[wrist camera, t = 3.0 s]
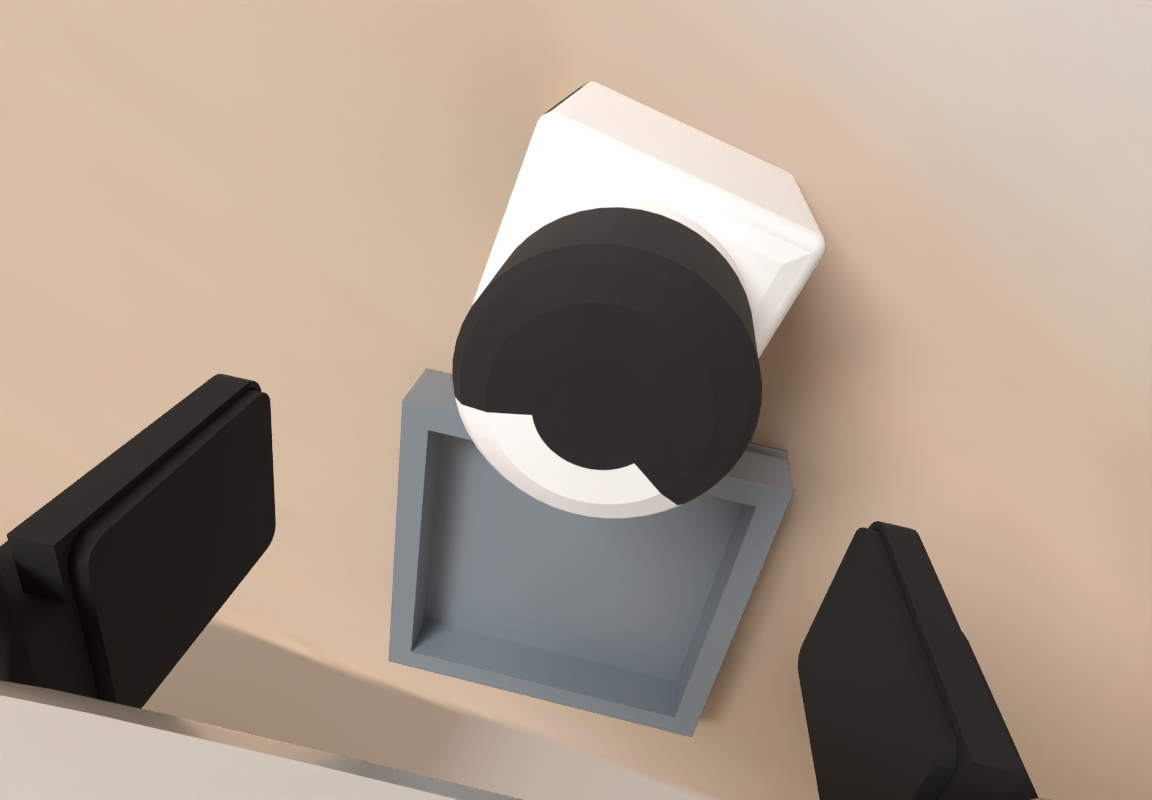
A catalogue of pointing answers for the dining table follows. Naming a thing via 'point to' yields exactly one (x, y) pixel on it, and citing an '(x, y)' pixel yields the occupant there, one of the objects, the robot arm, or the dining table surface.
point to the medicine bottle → (629, 309)
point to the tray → (570, 577)
